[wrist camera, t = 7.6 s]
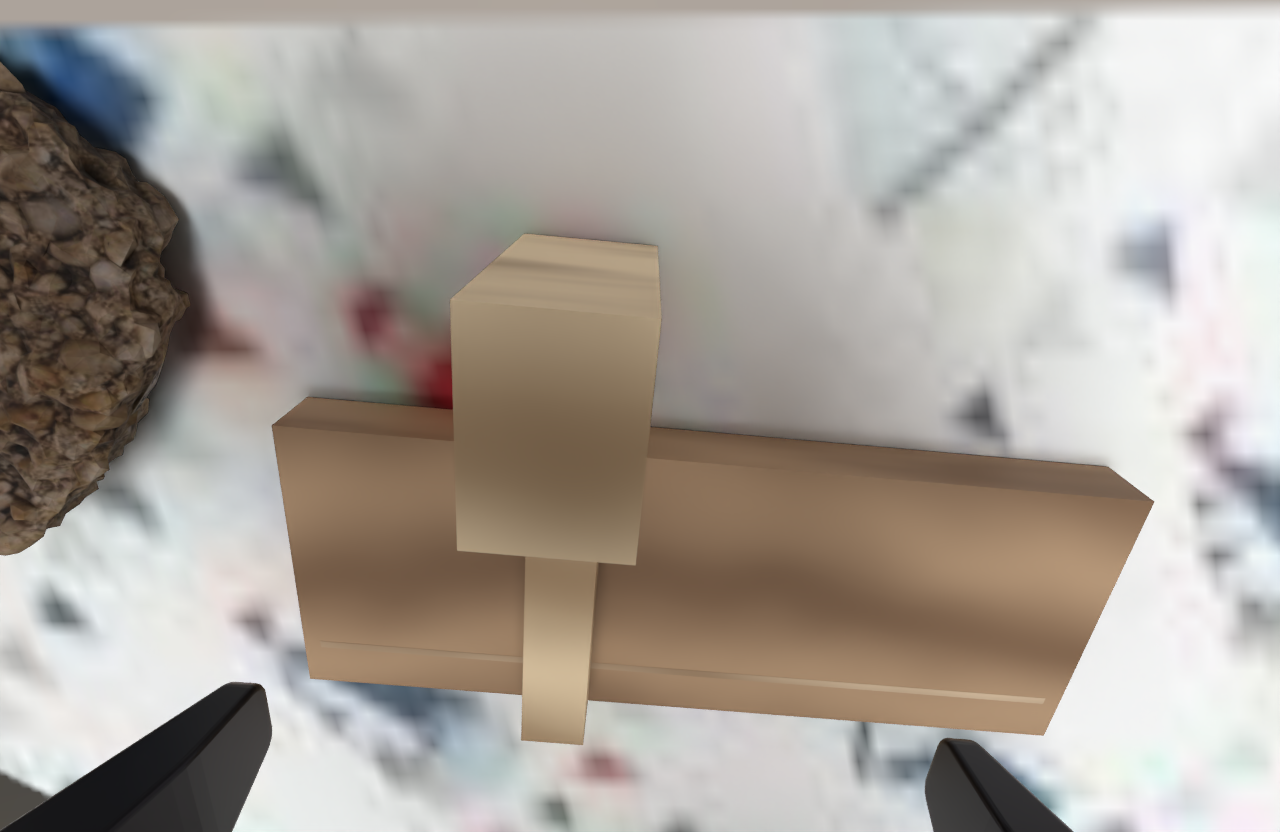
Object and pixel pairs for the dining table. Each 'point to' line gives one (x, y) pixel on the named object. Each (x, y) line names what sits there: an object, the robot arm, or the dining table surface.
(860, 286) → the dining table surface
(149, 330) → the brown rock
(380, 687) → the dining table surface
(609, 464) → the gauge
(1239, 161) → the dining table surface
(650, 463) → the board
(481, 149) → the dining table surface
